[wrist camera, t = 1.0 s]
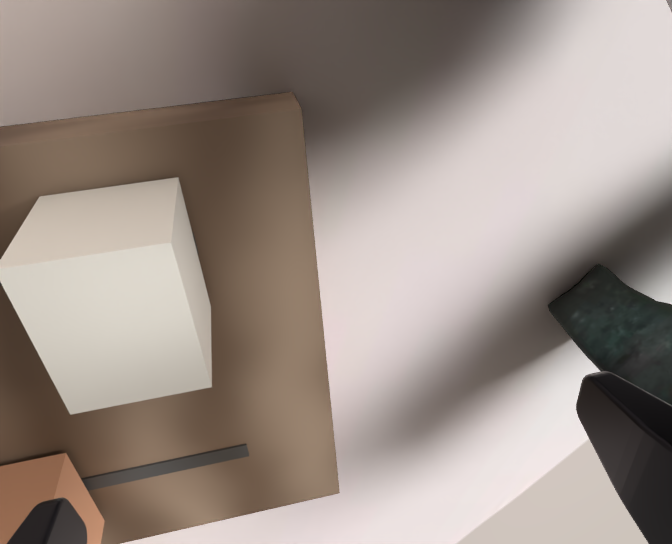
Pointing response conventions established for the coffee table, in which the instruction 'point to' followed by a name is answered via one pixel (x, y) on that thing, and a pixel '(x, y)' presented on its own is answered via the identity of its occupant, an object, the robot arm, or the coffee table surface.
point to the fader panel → (226, 319)
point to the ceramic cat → (620, 330)
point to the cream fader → (112, 294)
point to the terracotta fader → (44, 494)
